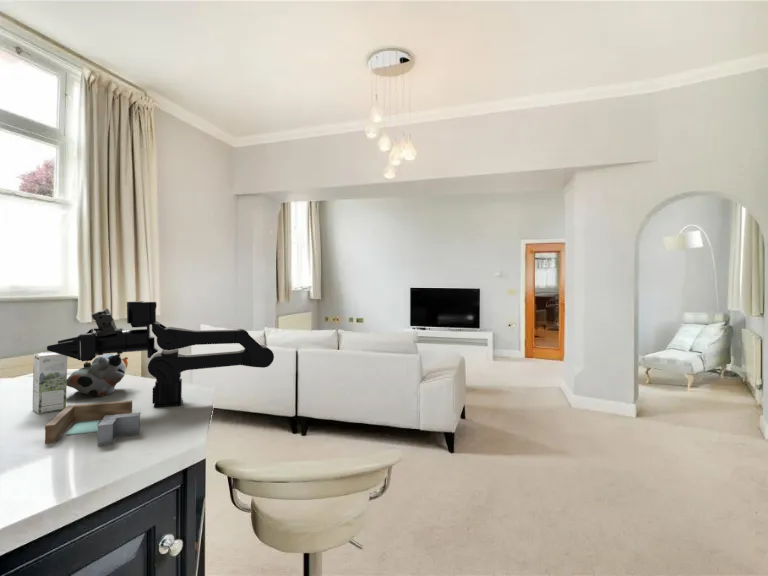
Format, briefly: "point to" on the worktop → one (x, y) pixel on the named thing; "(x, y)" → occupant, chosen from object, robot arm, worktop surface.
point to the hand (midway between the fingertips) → (52, 345)
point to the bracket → (118, 427)
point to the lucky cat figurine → (99, 375)
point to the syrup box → (49, 382)
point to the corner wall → (83, 416)
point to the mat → (84, 427)
